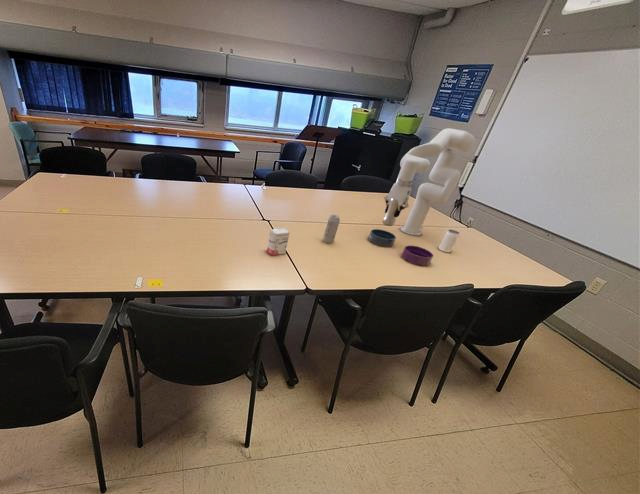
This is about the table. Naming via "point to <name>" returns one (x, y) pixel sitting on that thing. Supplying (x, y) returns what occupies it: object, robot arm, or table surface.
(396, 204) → the silver metal bottle
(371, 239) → the blue bowl
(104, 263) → the table surface
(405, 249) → the plum bowl
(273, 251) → the ink box
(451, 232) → the can
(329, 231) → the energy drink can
